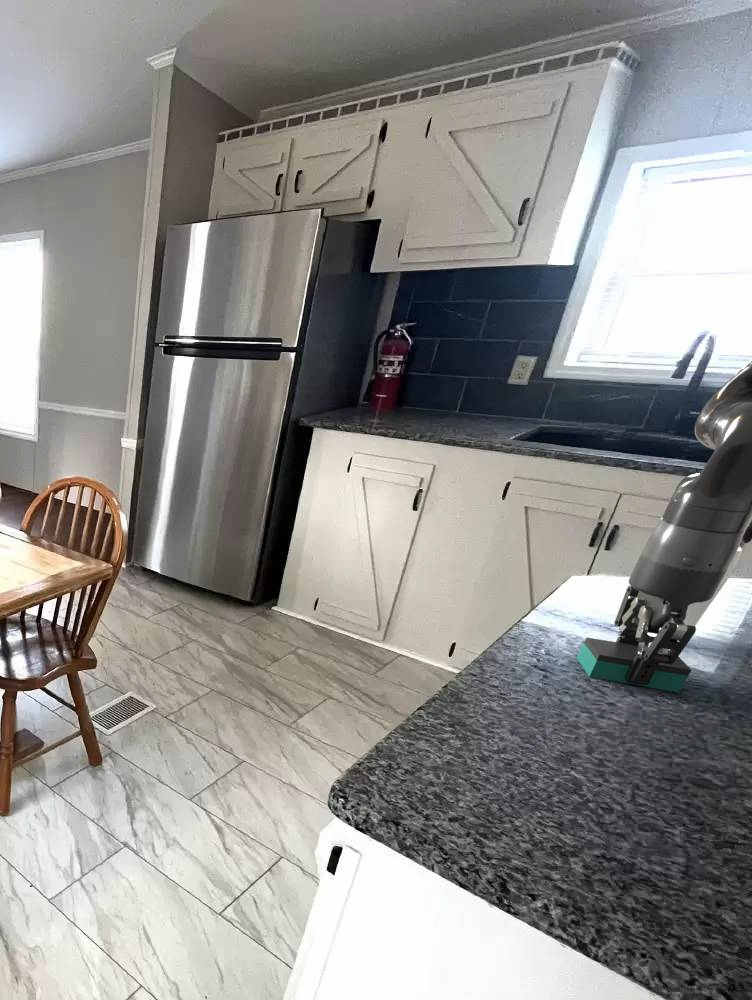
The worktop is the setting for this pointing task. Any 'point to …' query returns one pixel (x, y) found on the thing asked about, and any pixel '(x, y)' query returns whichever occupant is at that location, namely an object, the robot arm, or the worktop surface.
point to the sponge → (627, 664)
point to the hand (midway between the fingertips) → (626, 671)
